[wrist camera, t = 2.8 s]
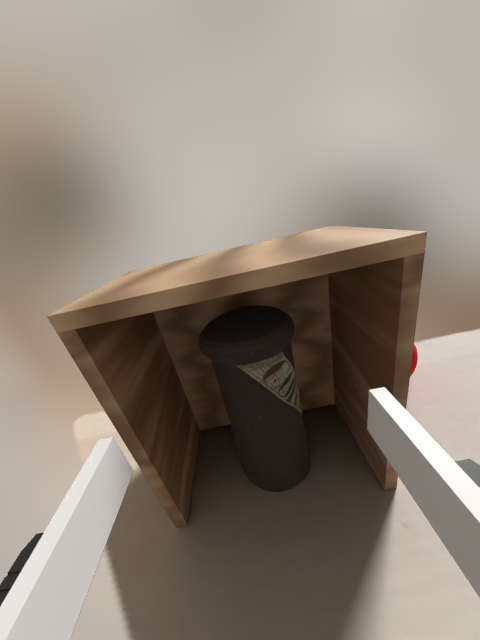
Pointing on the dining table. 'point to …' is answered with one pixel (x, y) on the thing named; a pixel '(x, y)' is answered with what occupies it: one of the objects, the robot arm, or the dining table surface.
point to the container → (260, 392)
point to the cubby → (236, 292)
